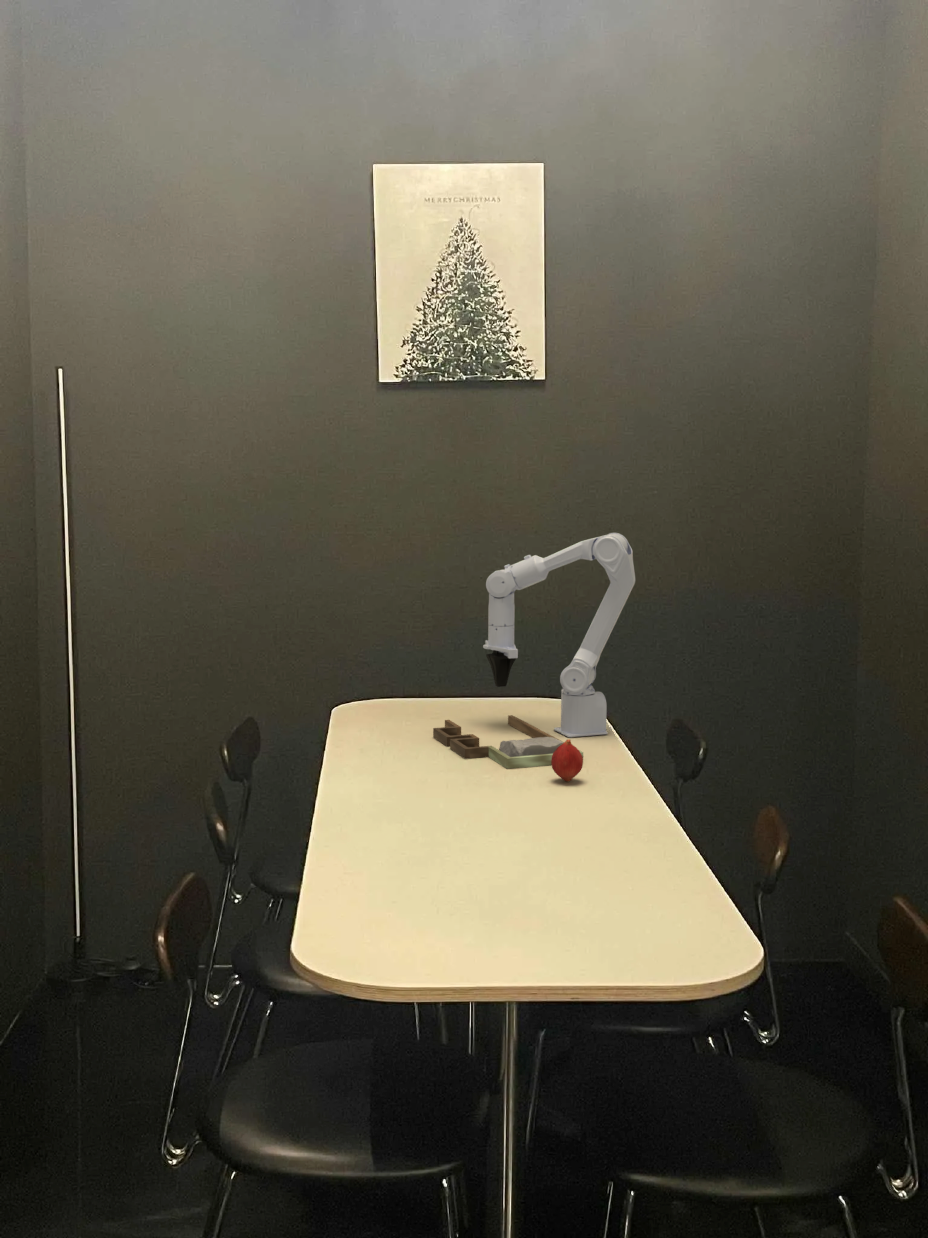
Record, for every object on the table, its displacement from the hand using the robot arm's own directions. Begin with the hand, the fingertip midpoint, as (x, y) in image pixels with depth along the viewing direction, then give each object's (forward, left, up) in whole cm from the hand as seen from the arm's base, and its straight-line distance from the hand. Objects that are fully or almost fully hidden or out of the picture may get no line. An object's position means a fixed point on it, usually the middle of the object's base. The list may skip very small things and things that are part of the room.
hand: (500, 686), depth 265 cm
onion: (+5, +46, -10) cm, 47 cm away
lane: (+7, +16, -9) cm, 19 cm away
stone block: (+4, +26, -10) cm, 28 cm away
